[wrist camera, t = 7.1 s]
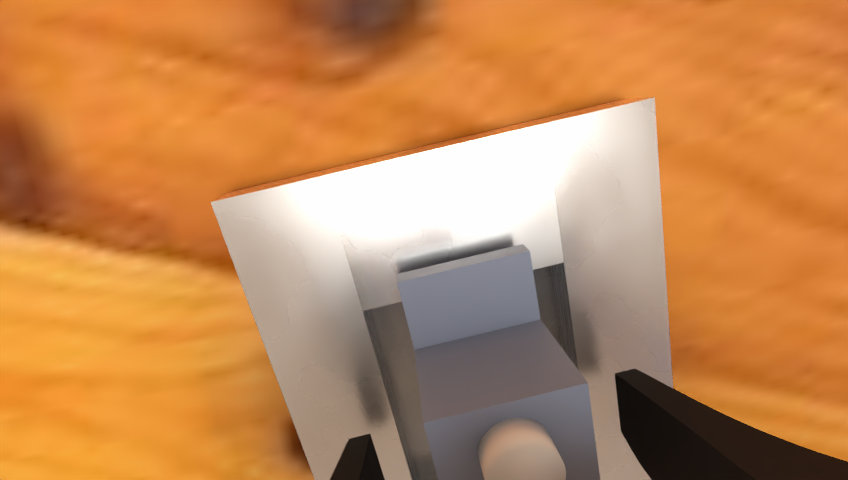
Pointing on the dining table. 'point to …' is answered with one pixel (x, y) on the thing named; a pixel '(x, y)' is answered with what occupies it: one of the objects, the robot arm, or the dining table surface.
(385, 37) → the dining table surface
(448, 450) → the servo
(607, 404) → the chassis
